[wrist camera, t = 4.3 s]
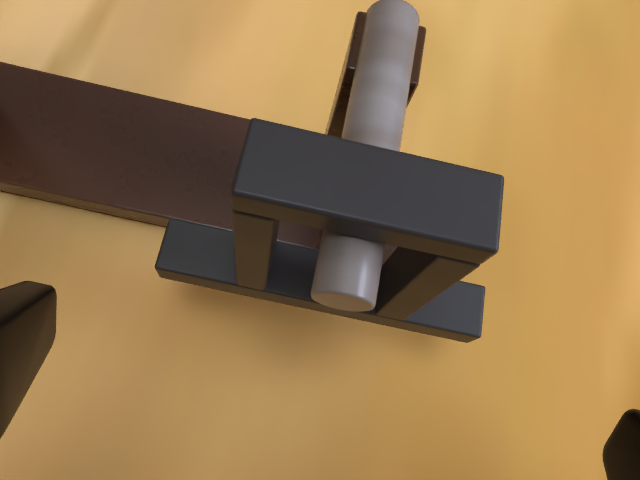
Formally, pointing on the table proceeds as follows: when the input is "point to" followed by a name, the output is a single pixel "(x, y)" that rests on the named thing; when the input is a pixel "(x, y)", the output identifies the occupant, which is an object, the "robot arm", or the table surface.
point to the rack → (204, 147)
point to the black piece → (348, 228)
